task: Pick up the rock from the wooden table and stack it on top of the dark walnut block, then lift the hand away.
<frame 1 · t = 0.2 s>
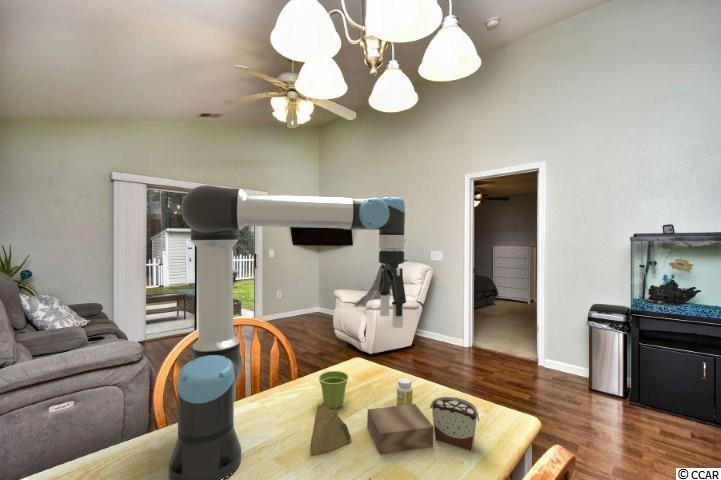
hand: (390, 321, 103), 27 cm above the table, tool pointing down, fingers open, 13 cm apart
food container: (456, 441, 90), on the table
rock: (331, 447, 87), on the table
walnut block: (398, 436, 91), on the table
plant pot: (333, 404, 108), on the table
supplement bottle: (404, 408, 106), on the table
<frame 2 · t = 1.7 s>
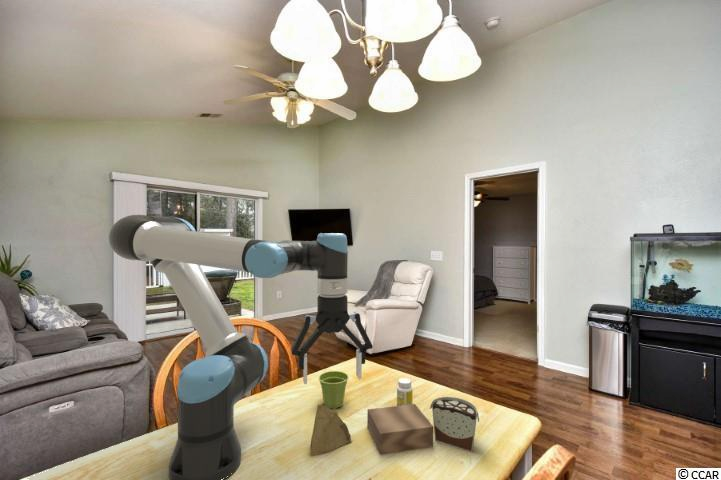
hand: (332, 379, 87), 17 cm above the table, tool pointing down, fingers open, 13 cm apart
nothing on the table moved.
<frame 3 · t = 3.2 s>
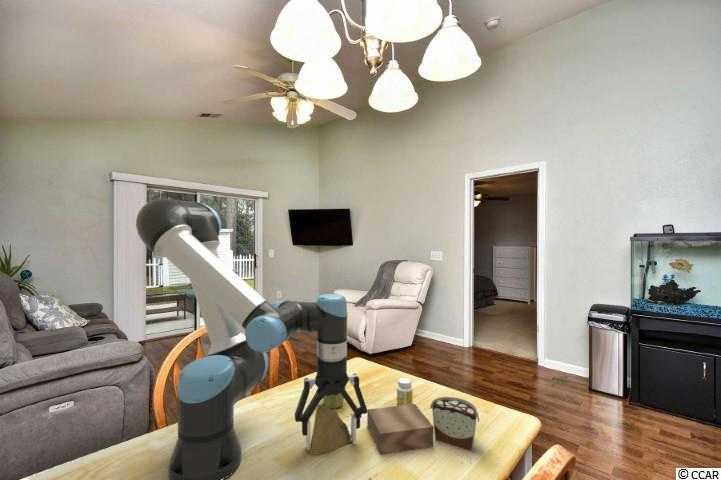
hand: (331, 443, 87), 0 cm above the table, tool pointing down, fingers closed on rock, 11 cm apart
rock: (331, 447, 87), on the table, touching gripper
everything else where it was.
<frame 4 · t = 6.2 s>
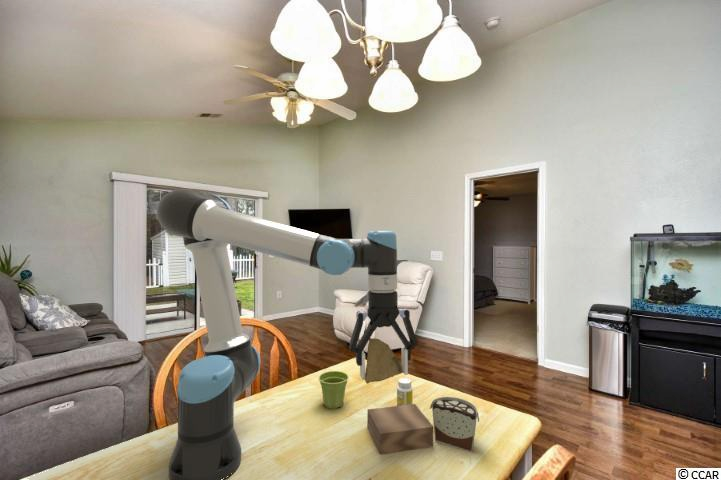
hand: (383, 375, 90), 17 cm above the table, tool pointing down, fingers closed on rock, 11 cm apart
rock: (384, 377, 90), point 16 cm above the table, touching gripper
everything else where it was.
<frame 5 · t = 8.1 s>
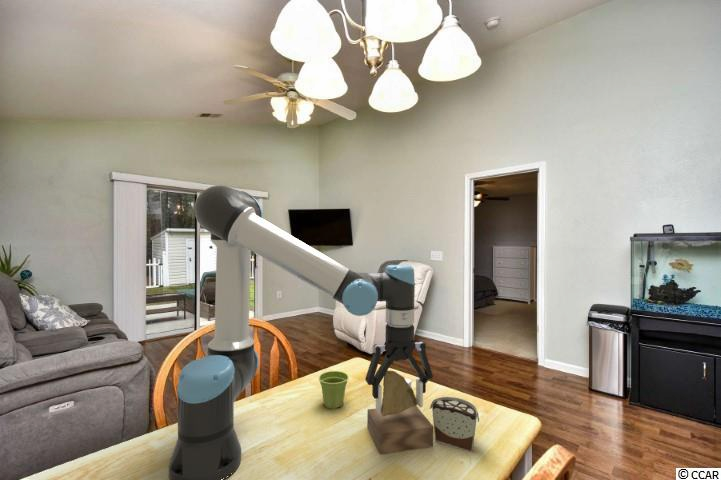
hand: (399, 407, 91), 8 cm above the table, tool pointing down, fingers closed on rock, 11 cm apart
rock: (399, 409, 91), point 7 cm above the table, touching gripper
everything else where it was.
when the fingers open (7 cm above the table, at t = 9.1 s): rock drops 2 cm, resting on walnut block.
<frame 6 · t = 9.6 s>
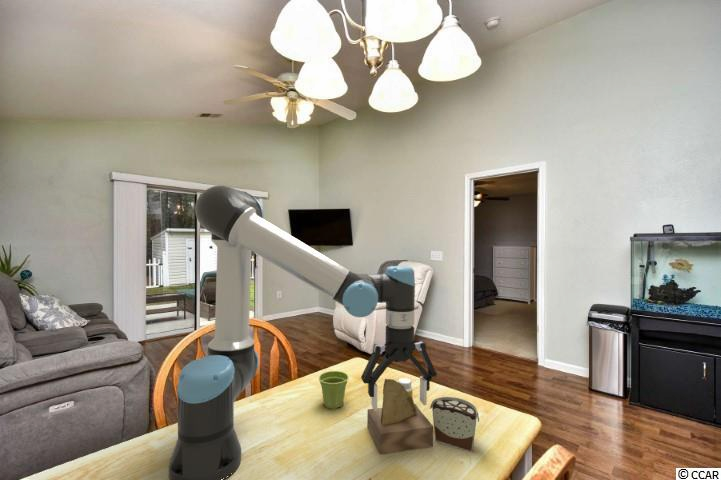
hand: (399, 405, 91), 8 cm above the table, tool pointing down, fingers open, 13 cm apart
rock: (399, 418, 91), point 5 cm above the table, touching walnut block
everything else where it was.
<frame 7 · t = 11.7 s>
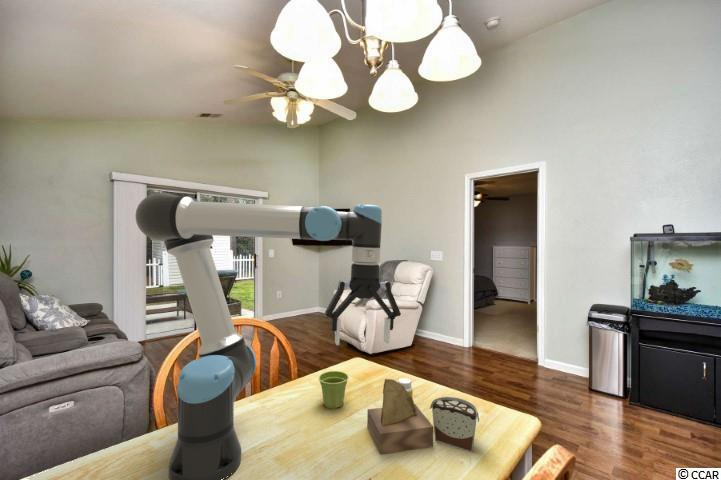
hand: (362, 342, 92), 24 cm above the table, tool pointing down, fingers open, 13 cm apart
nothing on the table moved.
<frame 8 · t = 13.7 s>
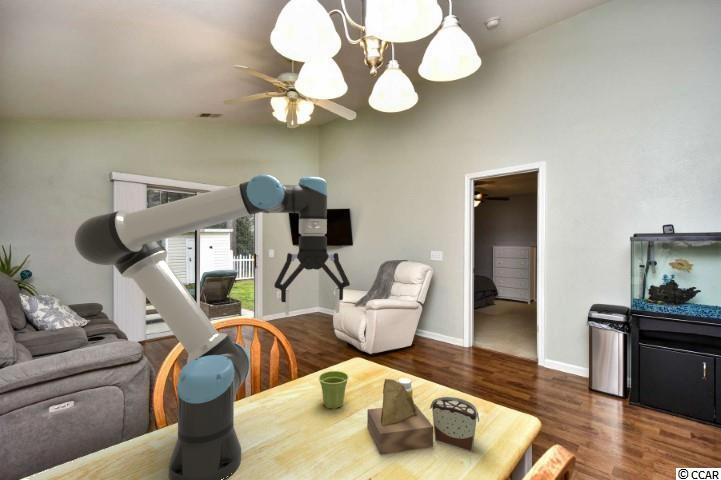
hand: (312, 313, 94), 32 cm above the table, tool pointing down, fingers open, 13 cm apart
nothing on the table moved.
at the end: rock inside the target area on the walnut block (0.0 cm from its centre), point 4.8 cm above the walnut block's base; rock tilted 0°; rock touching walnut block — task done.
